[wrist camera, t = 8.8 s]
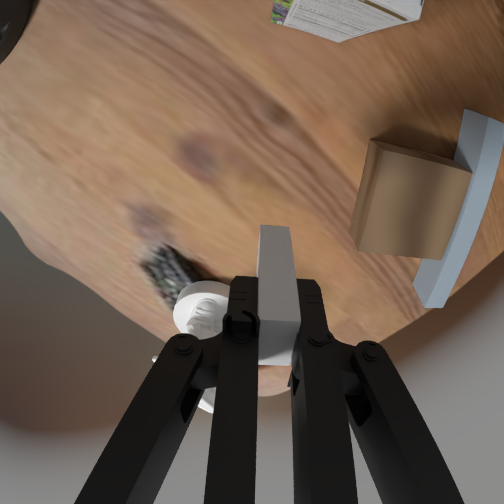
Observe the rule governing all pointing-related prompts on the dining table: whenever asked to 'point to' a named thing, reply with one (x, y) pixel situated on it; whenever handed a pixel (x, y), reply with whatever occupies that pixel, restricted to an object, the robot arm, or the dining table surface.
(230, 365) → the robot arm
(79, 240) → the dining table surface
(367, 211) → the block
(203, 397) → the character figurine
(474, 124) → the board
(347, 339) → the dining table surface
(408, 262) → the dining table surface
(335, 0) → the syrup box
